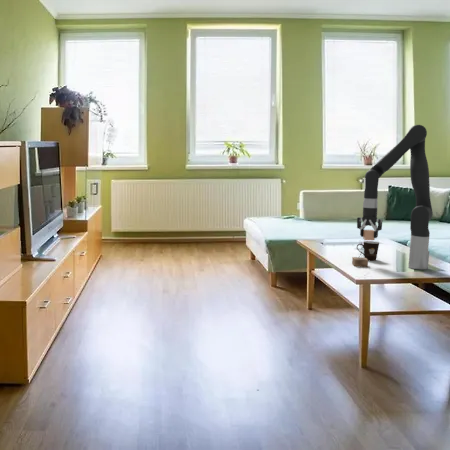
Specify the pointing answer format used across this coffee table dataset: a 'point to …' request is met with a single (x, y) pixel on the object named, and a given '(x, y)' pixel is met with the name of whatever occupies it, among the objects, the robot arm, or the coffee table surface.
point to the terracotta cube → (368, 234)
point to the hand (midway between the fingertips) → (368, 237)
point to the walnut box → (360, 261)
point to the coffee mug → (370, 250)
